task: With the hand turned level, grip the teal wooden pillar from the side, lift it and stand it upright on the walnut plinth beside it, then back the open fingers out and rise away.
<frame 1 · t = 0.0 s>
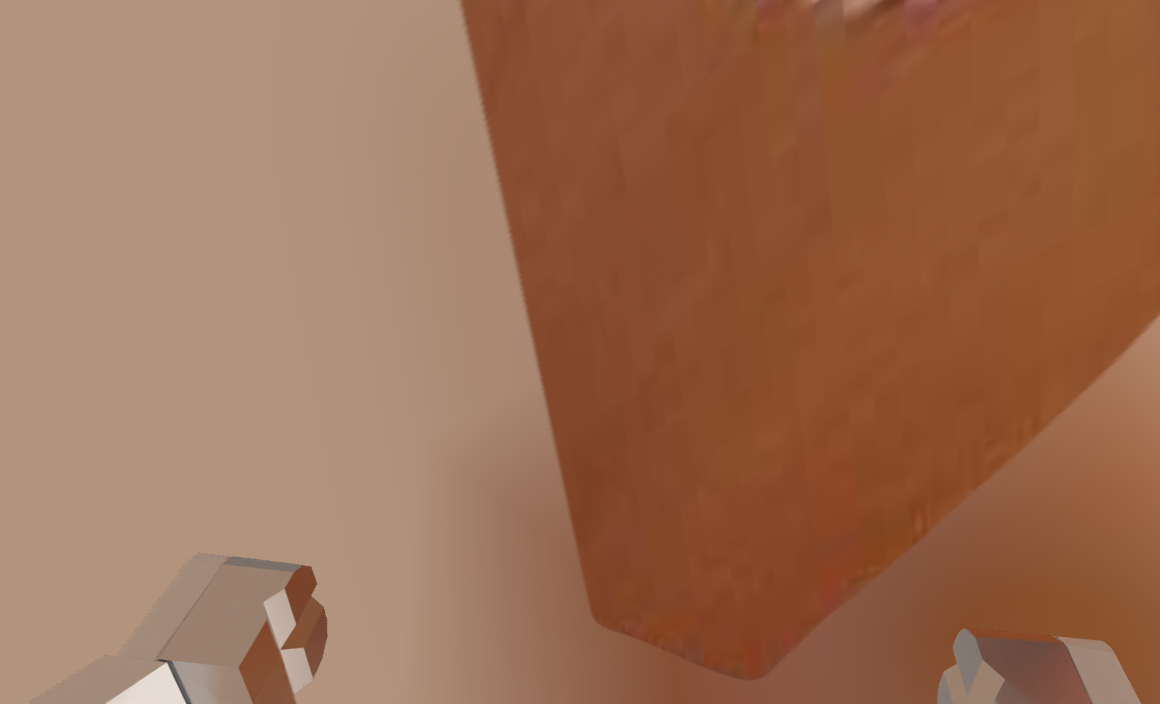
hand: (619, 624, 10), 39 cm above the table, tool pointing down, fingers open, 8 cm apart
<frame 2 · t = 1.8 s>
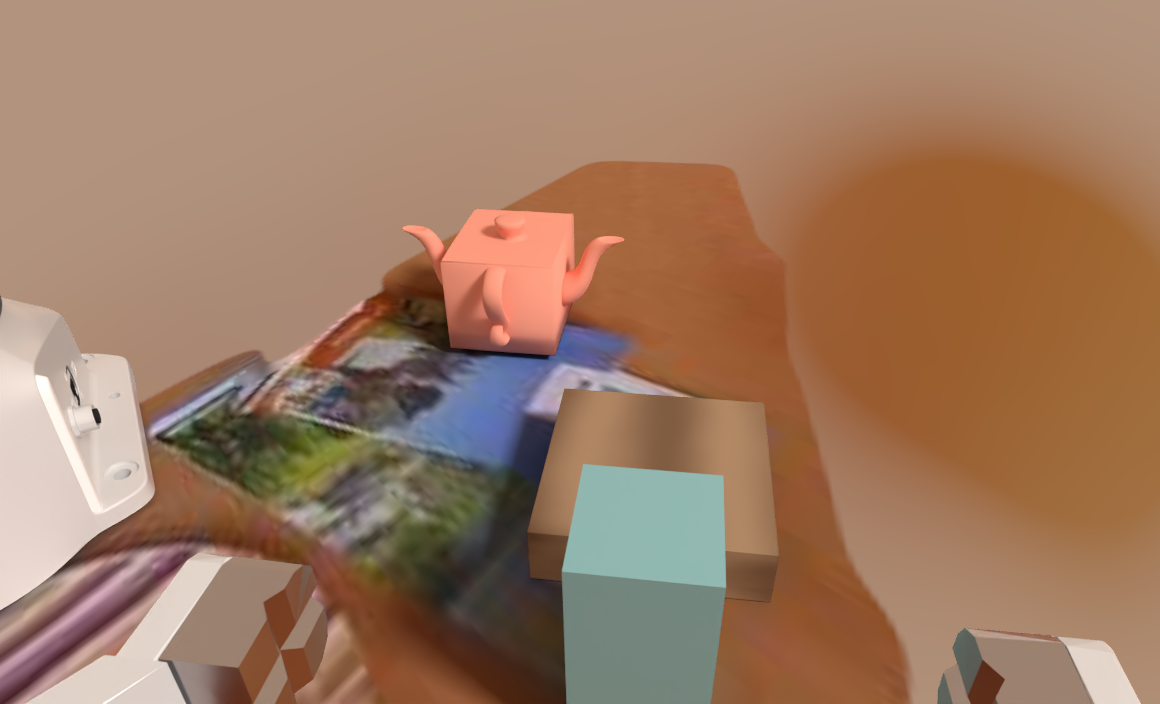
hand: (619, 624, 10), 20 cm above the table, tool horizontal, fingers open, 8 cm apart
walnut plinth: (654, 505, 40), on the table
teal pillar: (639, 699, 31), on the table
teapot: (516, 329, 56), on the table
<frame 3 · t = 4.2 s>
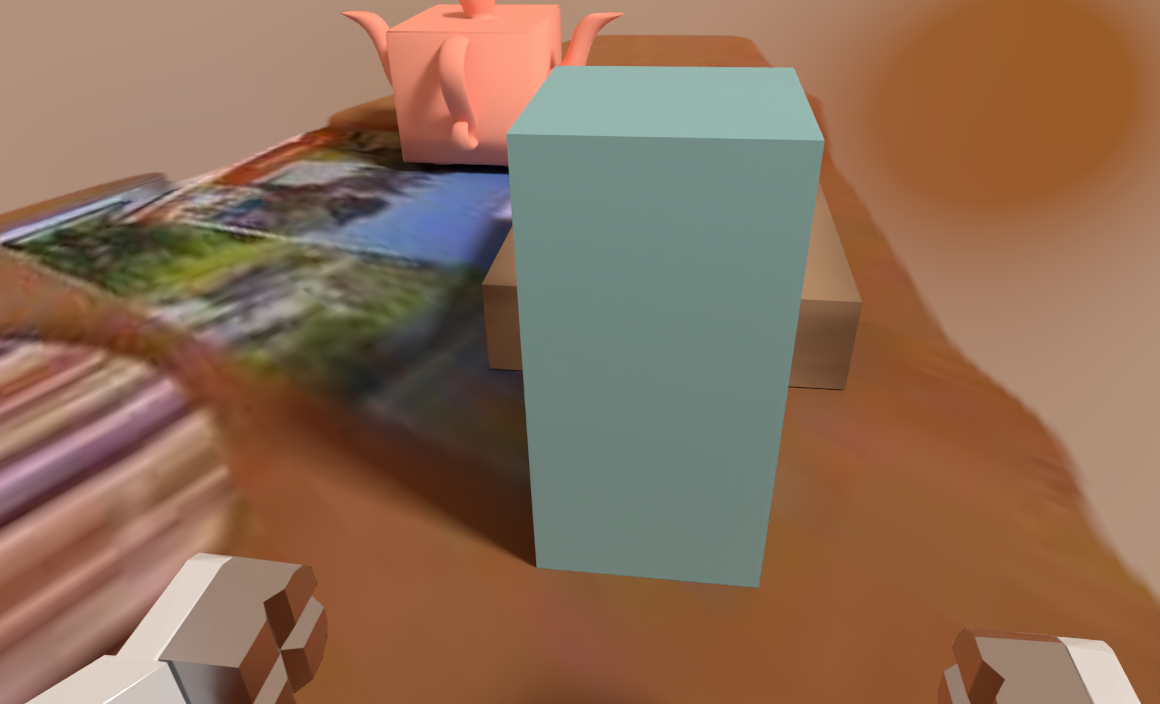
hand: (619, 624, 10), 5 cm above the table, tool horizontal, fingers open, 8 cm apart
walnut plinth: (669, 296, 29), on the table
teal pillar: (651, 501, 20), on the table
teapot: (490, 154, 44), on the table
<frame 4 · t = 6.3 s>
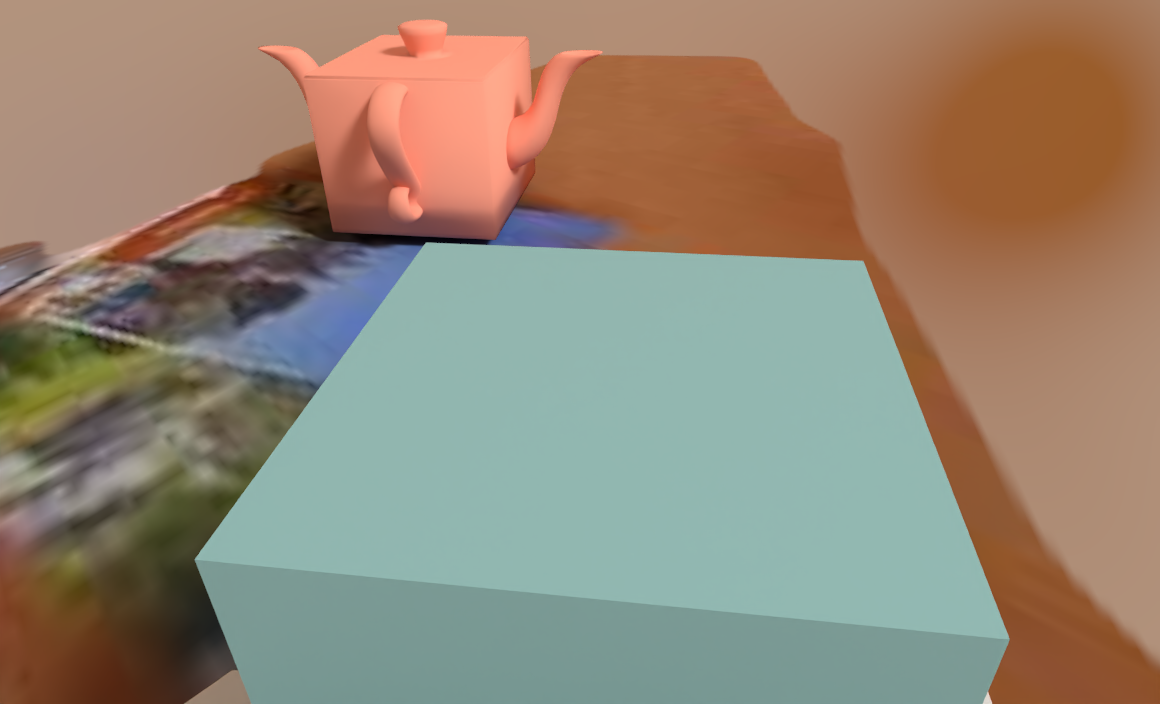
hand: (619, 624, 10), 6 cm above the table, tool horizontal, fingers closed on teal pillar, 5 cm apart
teapot: (444, 216, 37), on the table
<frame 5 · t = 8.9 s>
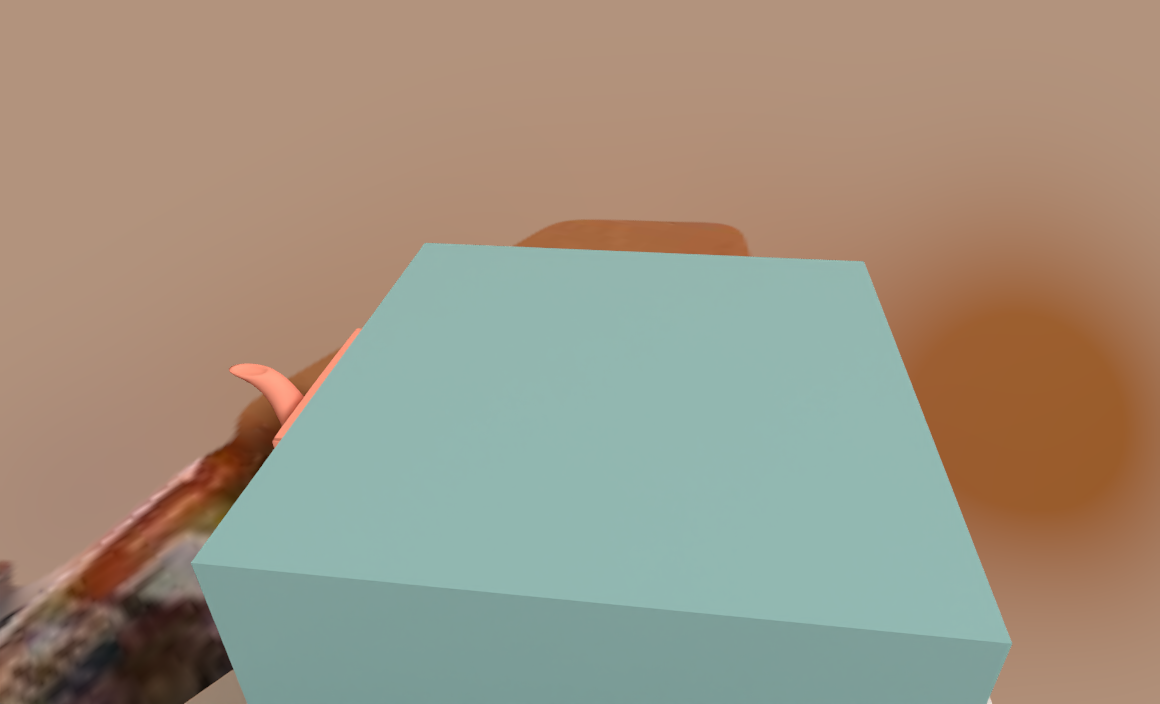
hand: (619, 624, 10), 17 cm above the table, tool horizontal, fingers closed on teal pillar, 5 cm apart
teapot: (421, 512, 36), on the table
when the fingers open (10 cm above the table, at t = 11.3 s): teal pillar drops 1 cm, resting on walnut plinth.
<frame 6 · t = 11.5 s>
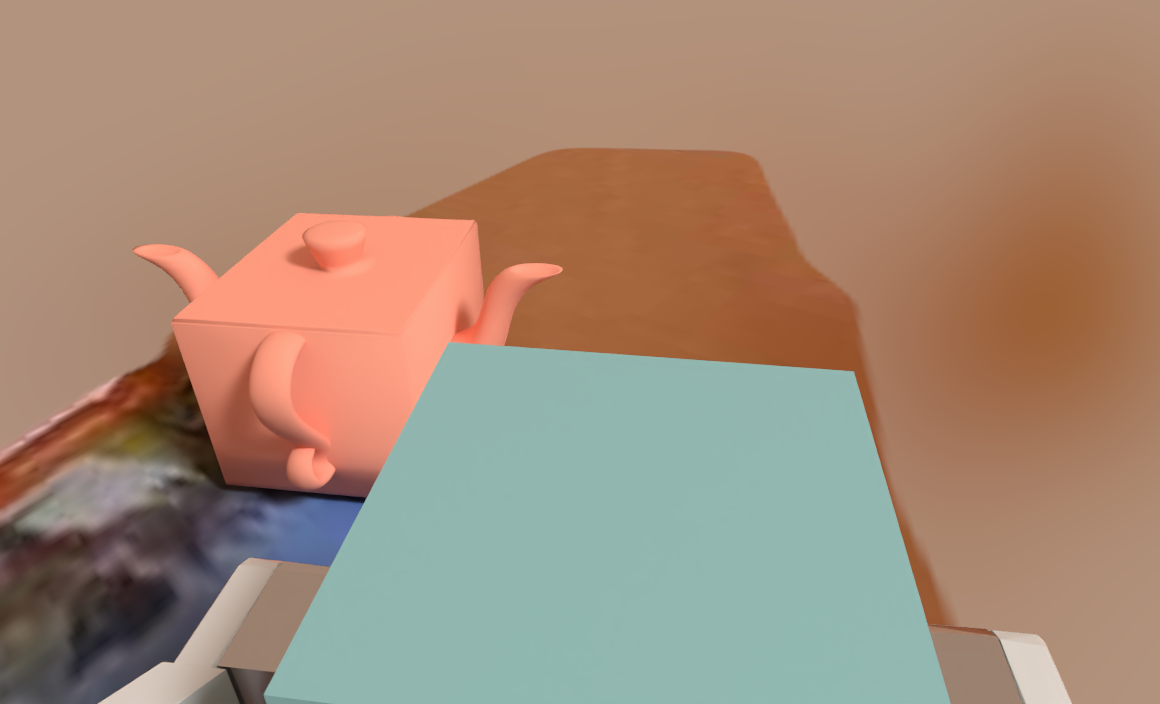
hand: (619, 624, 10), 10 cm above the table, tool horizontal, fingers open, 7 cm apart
teapot: (375, 436, 30), on the table
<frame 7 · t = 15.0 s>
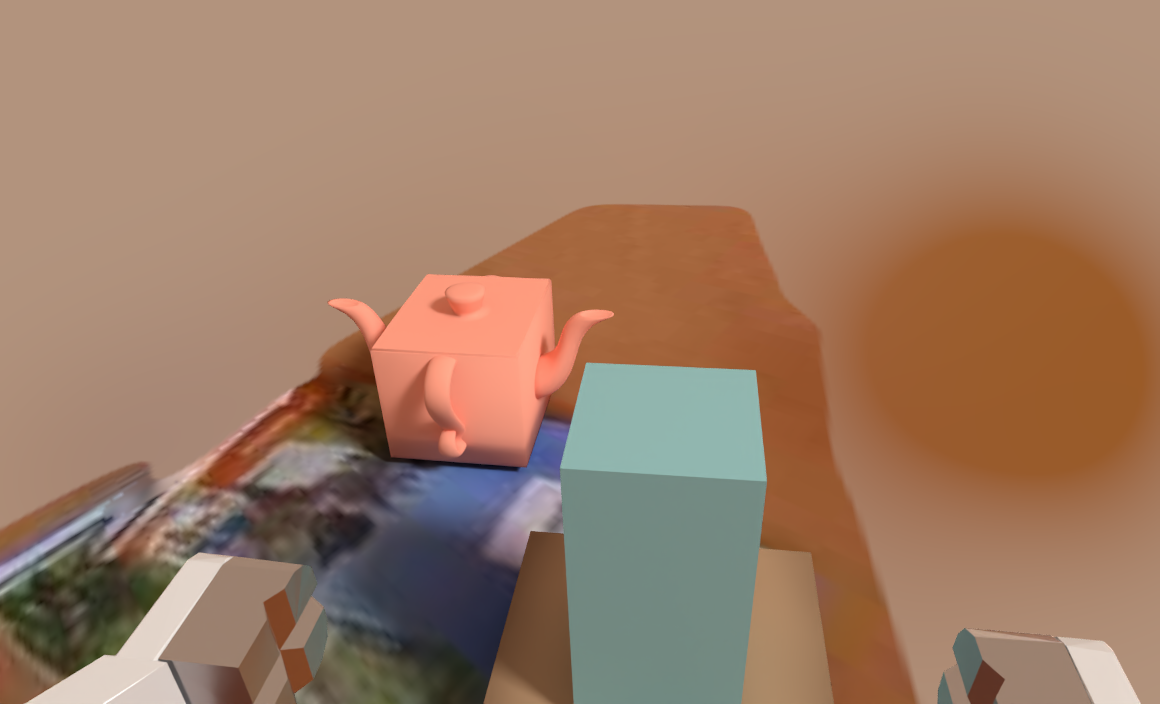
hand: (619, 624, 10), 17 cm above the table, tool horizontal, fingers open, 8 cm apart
teal pillar: (659, 659, 26), point 3 cm above the table, touching walnut plinth
teapot: (481, 427, 44), on the table
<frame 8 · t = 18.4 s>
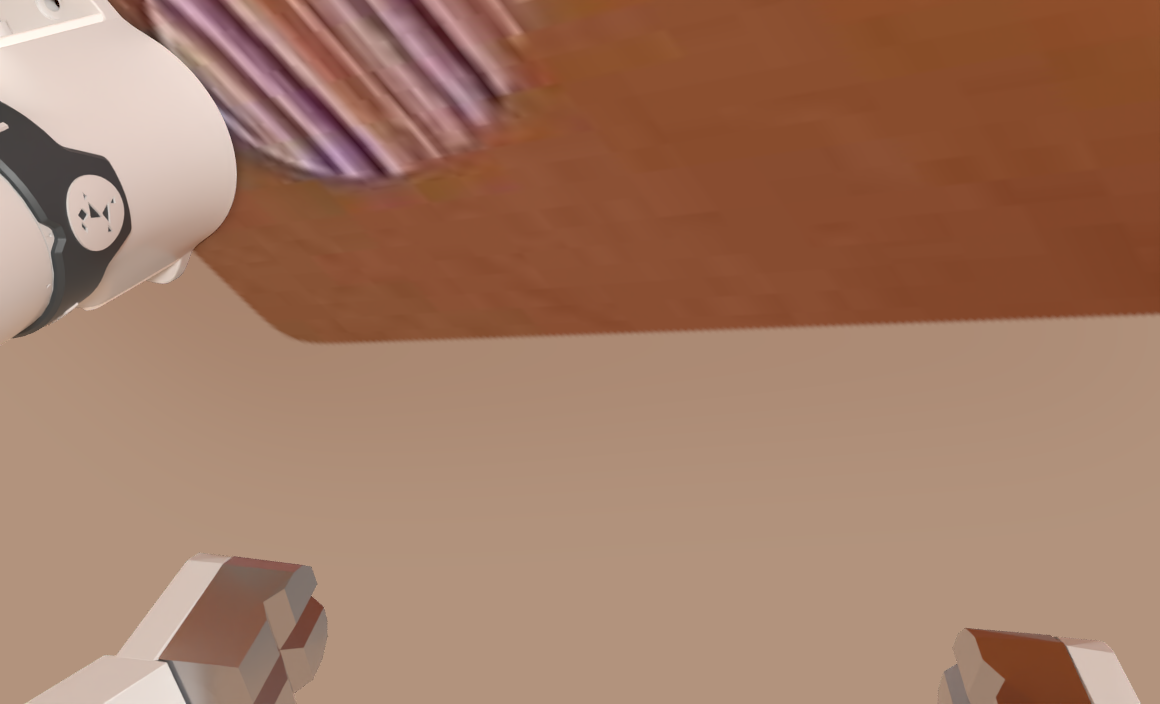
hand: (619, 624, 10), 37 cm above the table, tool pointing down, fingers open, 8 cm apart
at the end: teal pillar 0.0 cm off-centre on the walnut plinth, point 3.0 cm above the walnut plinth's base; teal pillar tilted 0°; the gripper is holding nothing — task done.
